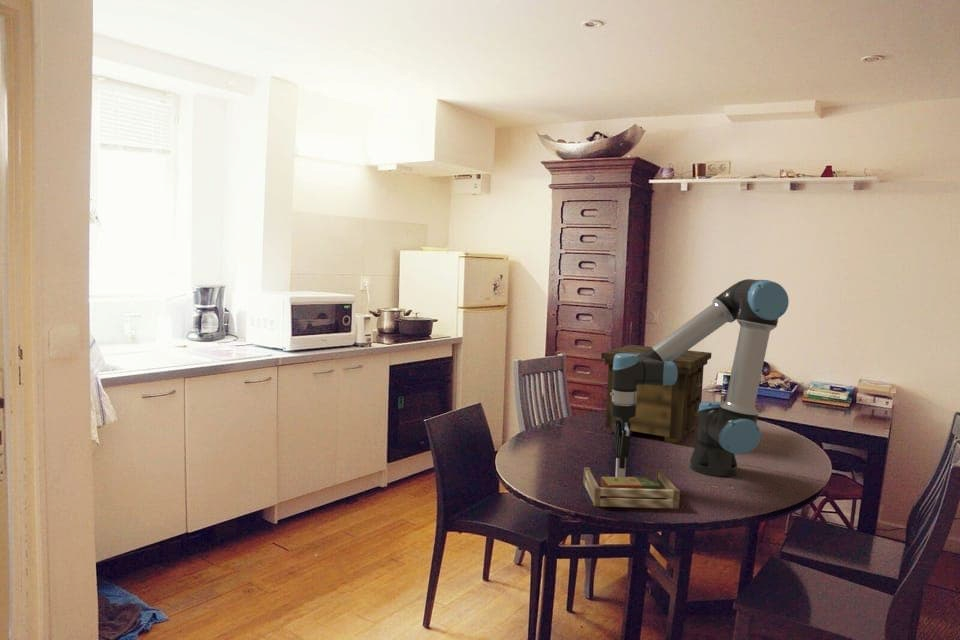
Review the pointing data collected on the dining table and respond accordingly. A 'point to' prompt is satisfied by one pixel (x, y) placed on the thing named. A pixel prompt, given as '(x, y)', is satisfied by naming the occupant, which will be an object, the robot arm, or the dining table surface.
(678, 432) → the crate
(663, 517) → the dining table surface
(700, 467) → the robot arm
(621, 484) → the carton
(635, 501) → the slatted wooden tray
